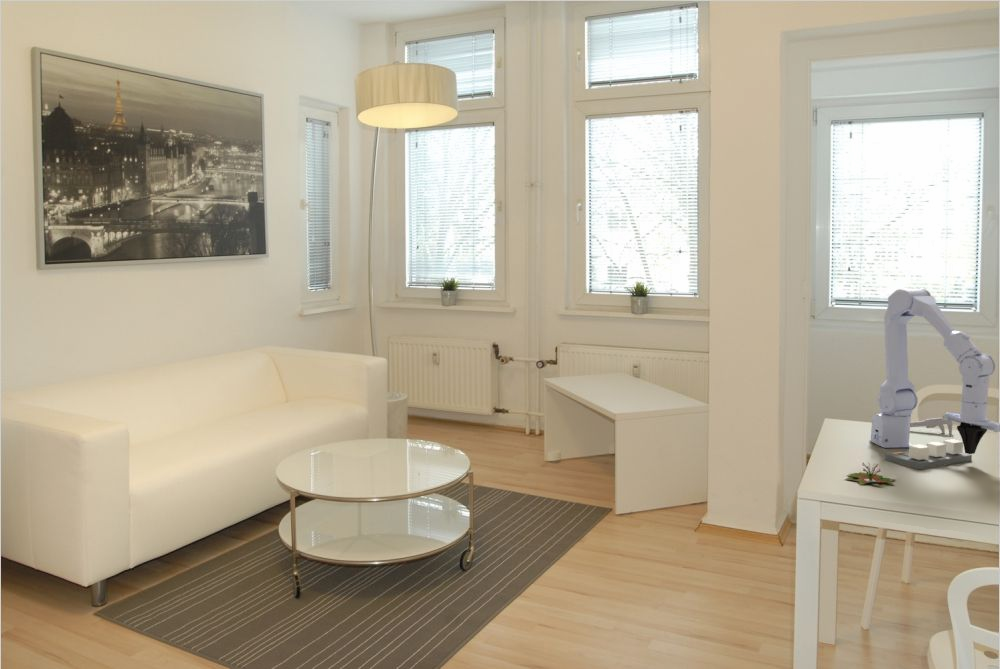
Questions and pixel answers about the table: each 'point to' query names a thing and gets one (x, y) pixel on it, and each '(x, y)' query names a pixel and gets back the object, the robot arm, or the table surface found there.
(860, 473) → the lily flower
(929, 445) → the tab
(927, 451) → the light grey block
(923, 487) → the table surface
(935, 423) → the caliper
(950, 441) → the tab
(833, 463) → the table surface
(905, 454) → the switch panel
